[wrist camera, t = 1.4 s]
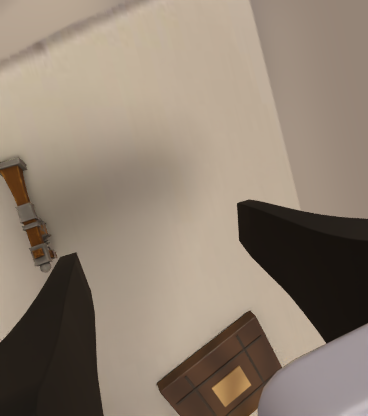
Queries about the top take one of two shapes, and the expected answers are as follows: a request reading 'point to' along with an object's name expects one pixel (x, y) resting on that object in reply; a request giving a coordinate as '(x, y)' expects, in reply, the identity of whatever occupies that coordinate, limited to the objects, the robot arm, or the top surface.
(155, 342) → the top surface
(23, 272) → the top surface
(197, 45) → the top surface
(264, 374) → the board
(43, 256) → the wooden post with brackets
